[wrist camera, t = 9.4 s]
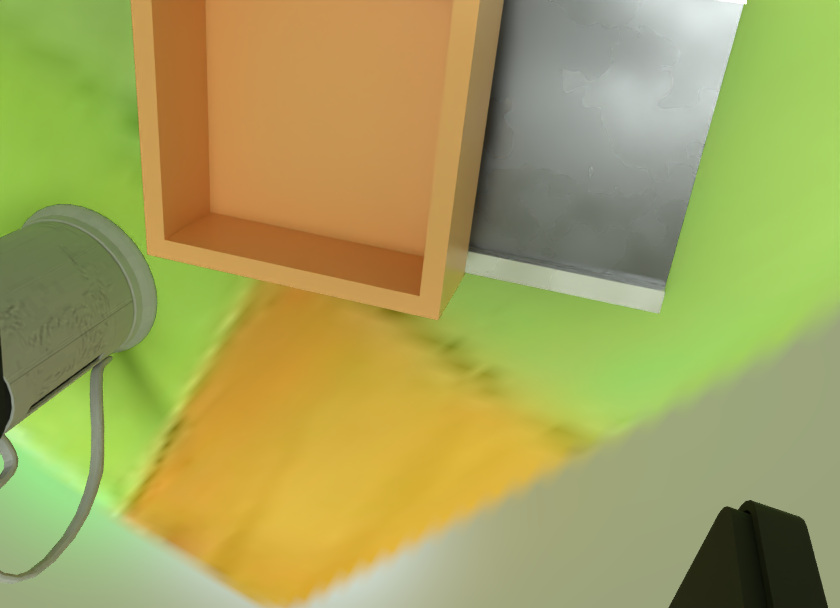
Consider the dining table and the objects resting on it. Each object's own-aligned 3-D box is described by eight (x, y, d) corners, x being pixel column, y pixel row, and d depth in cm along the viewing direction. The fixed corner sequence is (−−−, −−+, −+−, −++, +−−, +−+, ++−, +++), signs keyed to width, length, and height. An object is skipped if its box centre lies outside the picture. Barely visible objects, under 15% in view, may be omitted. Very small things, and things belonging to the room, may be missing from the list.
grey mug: (91, 176, 39) (-199, 297, 25) (241, 403, 42) (54, 610, 29) (-12, 242, 42) (-311, 376, 29) (134, 445, 46) (-74, 645, 33)
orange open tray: (221, 209, 35) (147, 254, 30) (216, -79, 30) (125, -84, 25) (472, 261, 33) (438, 320, 28) (517, -42, 27) (484, -38, 22)
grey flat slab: (239, 209, 37) (220, 220, 35) (237, -92, 31) (215, -94, 29) (659, 295, 33) (659, 313, 31) (749, -30, 27) (755, -29, 25)
